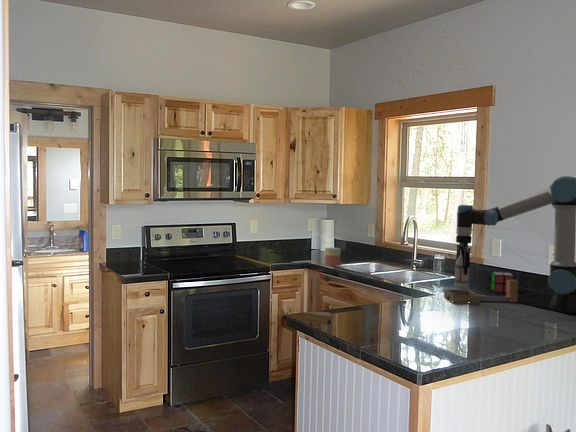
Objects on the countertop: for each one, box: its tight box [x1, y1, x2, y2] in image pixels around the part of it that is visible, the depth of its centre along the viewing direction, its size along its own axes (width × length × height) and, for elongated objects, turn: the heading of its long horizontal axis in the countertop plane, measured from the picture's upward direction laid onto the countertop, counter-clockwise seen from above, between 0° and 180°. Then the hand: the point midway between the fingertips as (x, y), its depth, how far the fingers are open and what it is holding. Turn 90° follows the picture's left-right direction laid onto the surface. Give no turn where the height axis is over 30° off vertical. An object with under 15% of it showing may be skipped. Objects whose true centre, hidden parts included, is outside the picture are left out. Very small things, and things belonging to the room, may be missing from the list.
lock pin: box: [480, 279, 519, 303], centre depth 285 cm, size 4×22×11 cm, turn 91°
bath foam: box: [454, 250, 470, 289], centre depth 284 cm, size 7×7×20 cm
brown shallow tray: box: [443, 288, 481, 306], centre depth 285 cm, size 15×13×4 cm
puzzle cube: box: [491, 271, 515, 294], centre depth 315 cm, size 10×10×10 cm
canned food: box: [324, 247, 342, 267], centre depth 401 cm, size 11×11×12 cm
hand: (461, 279), depth 285 cm, fingers closed on bath foam, 7 cm apart
